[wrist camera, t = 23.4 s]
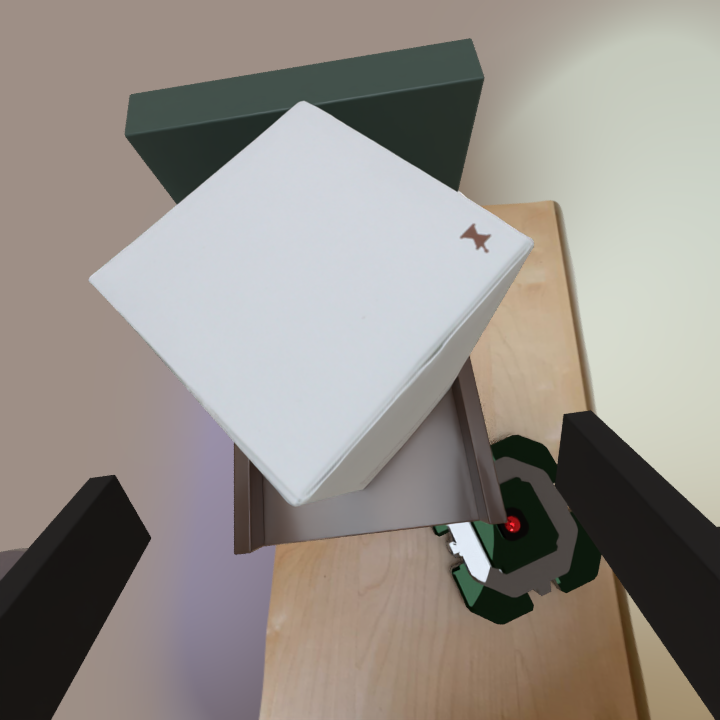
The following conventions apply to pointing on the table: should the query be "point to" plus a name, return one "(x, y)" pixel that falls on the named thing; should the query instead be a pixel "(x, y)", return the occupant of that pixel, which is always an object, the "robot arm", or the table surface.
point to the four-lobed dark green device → (520, 539)
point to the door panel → (329, 93)
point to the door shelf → (387, 484)
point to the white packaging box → (316, 299)
